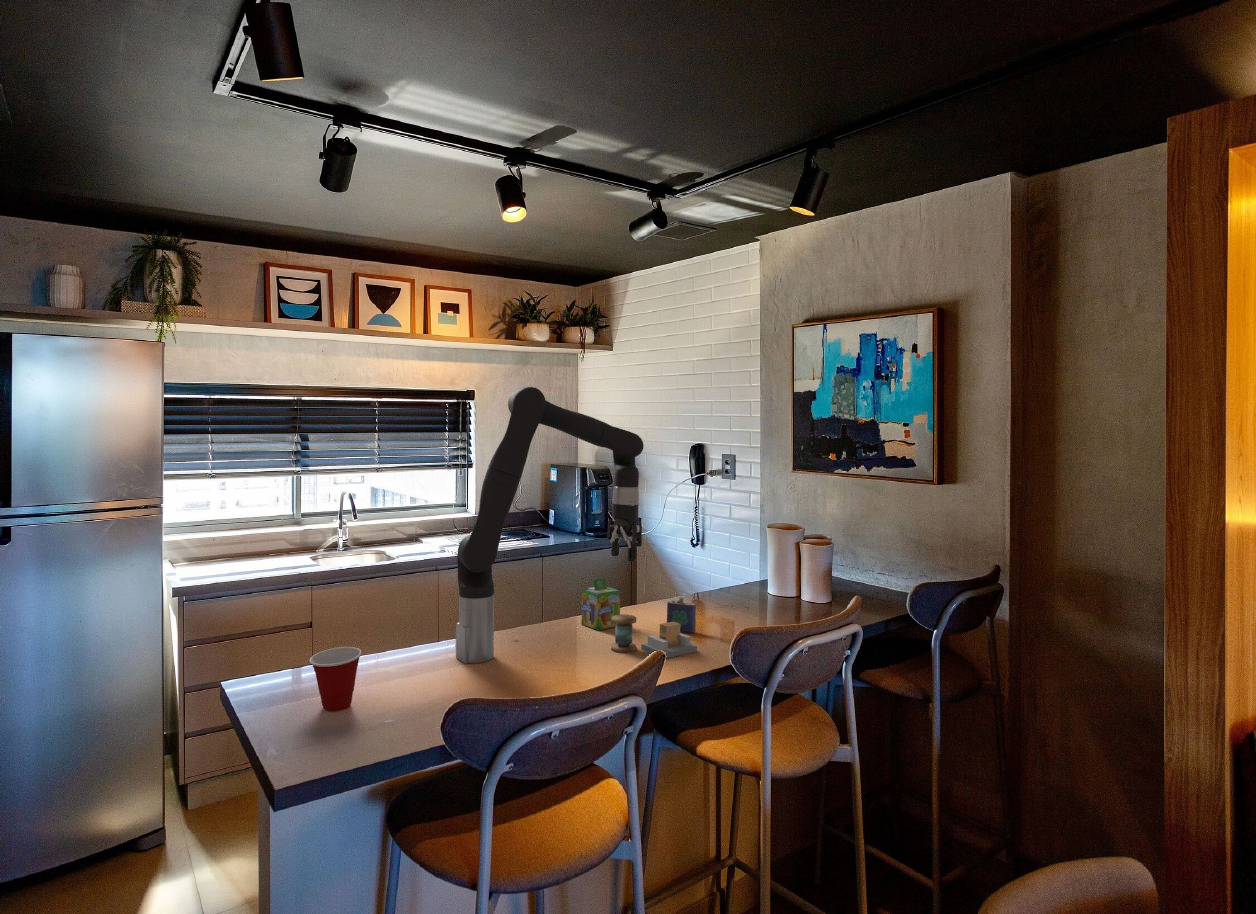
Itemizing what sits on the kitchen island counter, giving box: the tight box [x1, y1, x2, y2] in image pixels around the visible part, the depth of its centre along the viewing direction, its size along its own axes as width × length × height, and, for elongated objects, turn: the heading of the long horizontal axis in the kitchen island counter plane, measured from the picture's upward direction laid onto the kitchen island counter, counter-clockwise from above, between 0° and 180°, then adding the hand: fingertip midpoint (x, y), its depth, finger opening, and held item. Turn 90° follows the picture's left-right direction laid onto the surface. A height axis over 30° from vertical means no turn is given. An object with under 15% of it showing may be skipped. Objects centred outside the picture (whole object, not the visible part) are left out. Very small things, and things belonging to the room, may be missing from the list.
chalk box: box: [580, 577, 621, 631], centre depth 234 cm, size 9×9×15 cm
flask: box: [666, 596, 697, 635], centre depth 228 cm, size 9×3×11 cm, turn 68°
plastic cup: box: [309, 646, 362, 713], centre depth 164 cm, size 11×11×12 cm
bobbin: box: [610, 613, 637, 654], centre depth 209 cm, size 7×7×9 cm
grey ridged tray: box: [640, 633, 698, 659], centre depth 209 cm, size 12×10×4 cm
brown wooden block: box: [659, 622, 680, 647], centre depth 209 cm, size 5×3×6 cm, turn 125°
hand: (623, 558), depth 213 cm, fingers open, 8 cm apart
